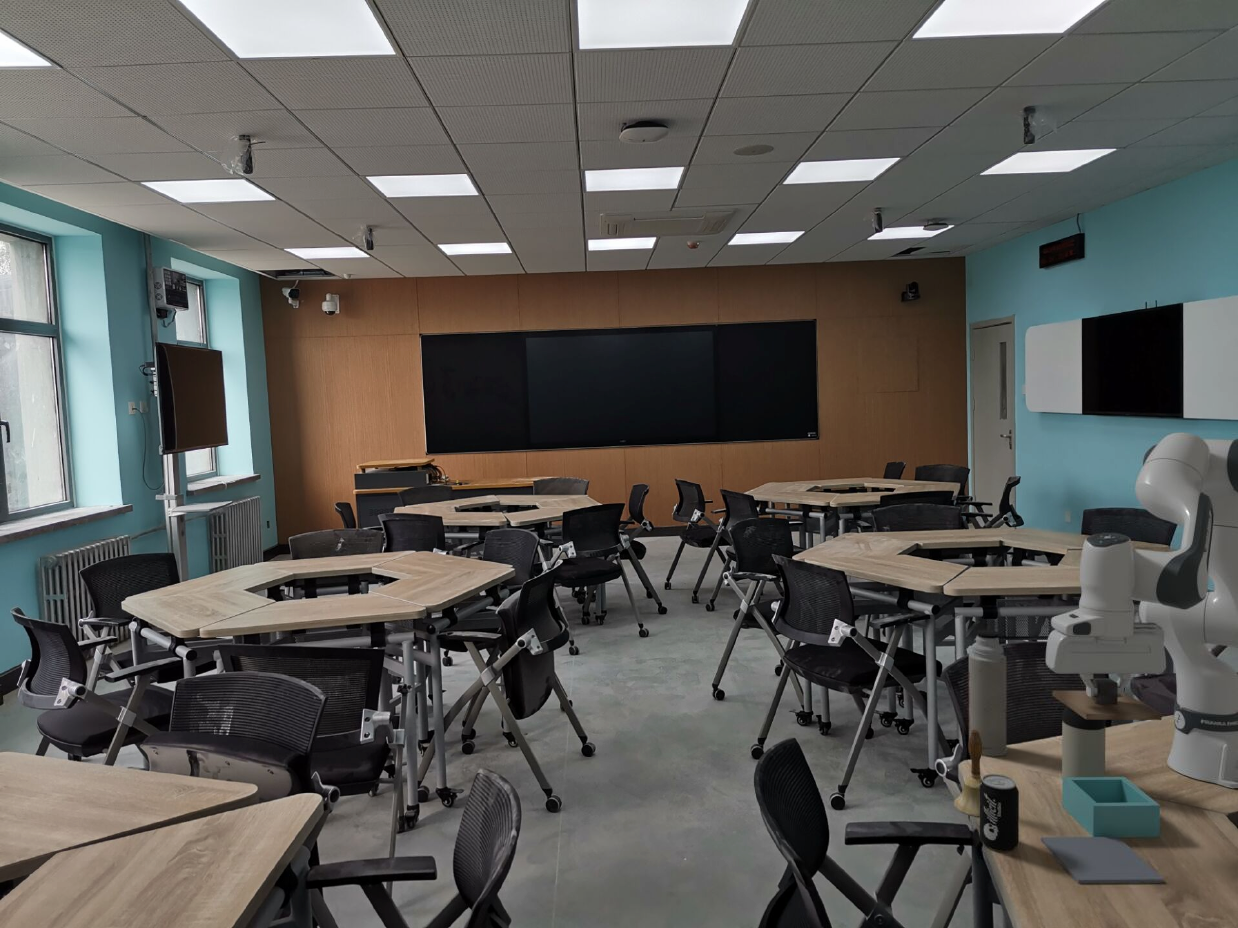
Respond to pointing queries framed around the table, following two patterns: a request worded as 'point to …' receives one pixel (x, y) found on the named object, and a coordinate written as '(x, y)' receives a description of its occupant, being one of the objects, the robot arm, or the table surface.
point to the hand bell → (972, 780)
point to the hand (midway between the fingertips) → (1104, 696)
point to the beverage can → (999, 812)
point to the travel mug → (1082, 745)
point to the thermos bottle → (988, 692)
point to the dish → (1110, 807)
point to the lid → (1106, 703)
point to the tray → (1100, 860)
